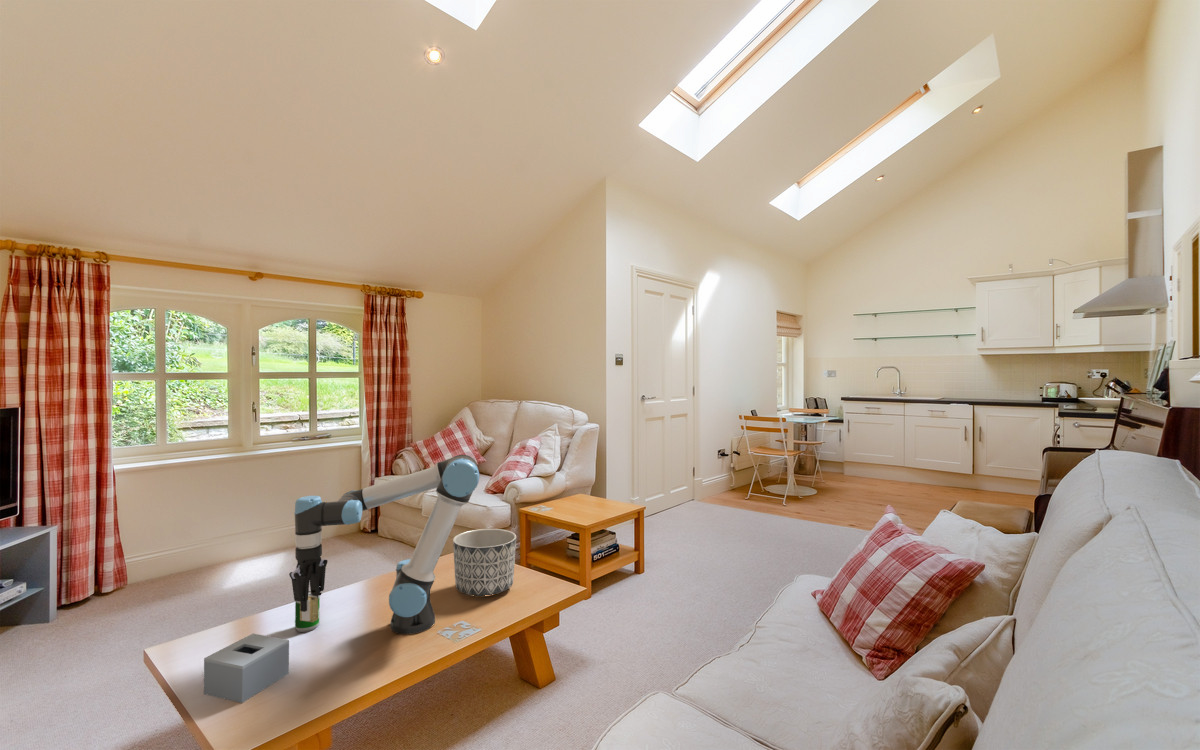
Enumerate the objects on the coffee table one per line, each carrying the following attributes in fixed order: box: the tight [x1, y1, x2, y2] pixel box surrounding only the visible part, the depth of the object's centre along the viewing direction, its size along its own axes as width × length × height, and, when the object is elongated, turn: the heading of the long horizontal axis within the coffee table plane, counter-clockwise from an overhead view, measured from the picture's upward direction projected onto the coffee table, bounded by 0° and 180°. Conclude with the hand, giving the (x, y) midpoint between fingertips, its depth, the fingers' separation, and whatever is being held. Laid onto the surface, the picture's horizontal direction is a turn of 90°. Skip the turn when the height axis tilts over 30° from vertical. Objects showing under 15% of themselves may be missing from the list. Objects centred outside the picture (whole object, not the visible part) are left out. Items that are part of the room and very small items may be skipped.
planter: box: [452, 528, 517, 597], centre depth 222 cm, size 26×26×22 cm
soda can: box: [294, 590, 321, 633], centre depth 187 cm, size 8×8×12 cm
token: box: [300, 596, 318, 622], centre depth 171 cm, size 5×2×7 cm, turn 74°
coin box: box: [203, 633, 290, 704], centre depth 153 cm, size 14×15×10 cm
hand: (309, 618), depth 171 cm, fingers closed on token, 2 cm apart
